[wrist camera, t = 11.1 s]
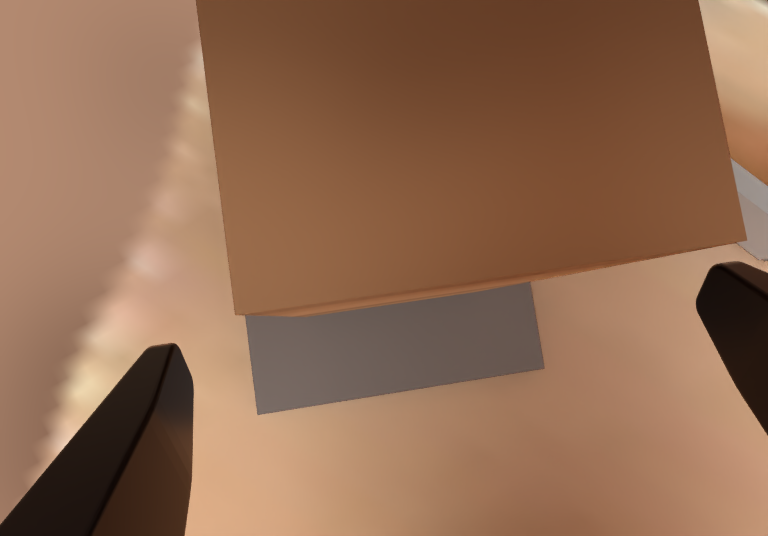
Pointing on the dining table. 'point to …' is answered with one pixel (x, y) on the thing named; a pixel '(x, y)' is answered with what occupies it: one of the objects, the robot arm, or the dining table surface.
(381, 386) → the mat
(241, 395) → the dining table surface
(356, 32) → the walnut block
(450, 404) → the dining table surface
